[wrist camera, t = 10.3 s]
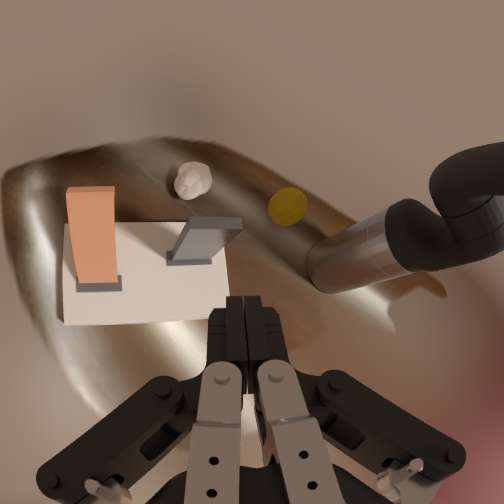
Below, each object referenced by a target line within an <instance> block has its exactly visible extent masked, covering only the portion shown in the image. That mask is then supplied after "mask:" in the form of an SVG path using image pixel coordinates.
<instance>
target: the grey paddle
mask: <svg viewBox="0 0 504 504" xmlns="http://www.w3.org/2000/svg"><path fill="white" fill-rule="evenodd" d="M242 230H243V223H242V217H210V216H189V218H188V220H187V222H186V224H185V225H184V227H183V229H182V231H181V233H180V235H179V237H178V239H177V241H176V243H175V245H174V247H173V249H172V251H171V260H172V262H173V261H207V260H210V259H211V258H213V257H214V256H215V255H216V254H217V253H218V252H219V251H220V250H221V249H222V248H223V247H224V246H226V245H227V244H228V243H229V242H230V241H231V240H232V239H233V238H234V237H235V236H236V235H238V234H239V233H240V232H241V231H242Z"/></svg>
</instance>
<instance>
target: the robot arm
mask: <svg viewBox="0 0 504 504" xmlns="http://www.w3.org/2000/svg"><path fill="white" fill-rule="evenodd" d="M429 191H430V194H431V197H432V199H433V202H434V204H435V206H436V208H437V210H438V211H439V213H440V214H441V216H442V217H441V216H439V215H437V214H435V213H434V212H432V211H431V210H430V209H428V208H427V207H426V206H424V205H423V204H422V203H420V202H418V201H417V200H414V199H404V200H401V201H399V202H397V203H395V204H394V205H391V206H390V207H388V208H386V209H384V210H382V211H380V212H378V213H376V214H374V215H373V216H371V217H369V218H367V219H365V220H363V221H361V222H359V223H357V224H355V225H353V226H351V227H349V228H347V229H345V230H343V231H341V232H339V233H337V234H335V235H333V236H331V237H329V238H327V239H325V240H323V241H321V242H319V243H318V244H316V245H314V246H313V247H312V248H311V250H310V252H309V254H308V258H307V270H308V274H309V277H310V279H311V281H312V282H313V284H314V285H315V286H316V287H317V288H318V289H319V290H320V291H322V292H324V293H327V294H335V293H340V292H344V291H348V290H352V289H356V288H360V287H364V286H367V285H371V284H375V283H379V282H382V281H386V280H390V279H393V278H397V277H400V276H403V275H407V274H410V273H414V272H417V271H421V270H423V271H430V272H432V271H438V270H443V269H447V268H451V267H455V266H459V265H463V264H468V263H472V262H476V261H479V260H483V259H486V258H488V257H491V256H493V255H495V254H498V253H499V252H501V251H503V250H504V142H499V143H493V144H487V145H483V146H478V147H474V148H470V149H467V150H464V151H461V152H459V153H457V154H454V155H452V156H451V157H449V158H447V159H446V160H444V161H443V162H442V163H440V164H439V165H438V166H437V167H436V169H435V170H434V171H433V173H432V175H431V177H430V180H429ZM247 387H248V394H254V401H255V405H254V412H255V417H256V422H257V427H258V432H259V437H260V442H261V447H262V459H263V465H264V467H262V468H250V467H245V466H240V441H241V411H242V408H243V394H246V392H247ZM191 430H192V435H191V443H190V451H189V460H188V469H187V471H185V472H182V473H180V474H178V475H176V476H174V477H173V478H172V479H170V480H169V481H168V482H167V483H166V484H165V485H164V486H163V487H162V488H161V489H160V490H159V491H158V492H157V493H156V494H155V495H154V496H153V497H152V498H151V499H150V500H149V501H148V502H146V503H145V504H430V502H431V501H432V498H433V497H434V496H435V494H436V492H437V490H438V489H439V487H440V485H441V483H442V481H443V480H444V479H446V478H447V477H449V476H451V475H453V474H454V473H456V472H458V471H459V470H460V469H461V468H462V467H463V466H464V464H465V461H466V452H465V449H464V447H463V446H462V445H461V444H460V443H459V442H457V441H455V440H454V439H452V438H450V437H448V436H447V435H445V434H443V433H441V432H440V431H438V430H436V429H434V428H433V427H431V426H429V425H427V424H426V423H424V422H423V421H421V420H419V419H418V418H416V417H414V416H413V415H411V414H409V413H408V412H406V411H405V410H403V409H401V408H400V407H398V406H396V405H395V404H393V403H392V402H390V401H388V400H387V399H385V398H383V397H382V396H381V395H379V394H377V393H376V392H374V391H373V390H371V389H370V388H368V387H367V386H365V385H363V384H362V383H360V382H359V381H357V380H356V379H354V378H353V377H351V376H350V375H348V374H347V373H345V372H343V371H340V370H330V371H326V372H325V373H323V374H322V375H321V376H314V375H308V374H304V373H301V372H299V371H297V370H296V369H295V368H294V367H293V366H292V365H291V364H290V362H289V359H288V354H287V349H286V345H285V340H284V336H283V332H282V326H281V322H280V317H279V314H278V313H277V312H276V311H275V309H274V308H273V307H262V303H261V297H260V296H243V298H242V296H226V308H214V309H213V310H212V312H211V313H210V315H209V319H208V339H207V362H206V366H205V368H204V370H203V371H202V373H200V374H199V375H198V376H196V377H194V378H191V379H188V380H184V381H180V382H179V381H177V380H176V379H175V378H173V377H170V376H158V377H155V378H153V379H151V380H150V381H149V382H147V383H146V384H145V385H144V386H143V387H141V388H140V389H139V390H138V391H137V392H135V393H134V394H133V395H132V396H130V397H129V398H128V399H127V400H126V401H124V402H123V403H122V404H121V405H119V406H118V407H117V408H116V409H114V410H113V411H112V412H111V413H109V414H108V415H107V416H106V417H104V418H103V419H102V420H101V421H99V422H98V423H97V424H96V425H94V426H93V427H92V428H91V429H89V430H88V431H87V432H85V433H84V434H83V435H82V436H80V437H79V438H78V439H76V440H75V441H74V442H73V443H71V444H70V445H69V446H67V447H66V448H65V449H63V450H62V451H61V452H60V453H58V454H57V455H55V456H54V457H53V458H52V459H50V460H49V461H48V462H46V463H45V464H43V465H42V466H41V467H40V468H39V469H38V471H37V474H36V482H37V485H38V487H39V489H40V490H41V492H42V493H43V494H44V495H45V496H47V497H48V498H50V499H53V500H55V501H57V502H59V503H60V504H132V497H131V494H130V492H129V490H128V489H129V488H130V487H131V486H132V485H133V484H135V483H136V482H137V481H138V480H139V479H140V478H142V477H143V476H144V475H145V474H146V473H147V472H148V471H150V470H151V469H152V468H153V467H154V466H155V465H156V464H157V463H158V462H159V461H160V460H162V459H163V458H164V457H165V456H166V455H167V454H168V453H169V452H170V451H171V450H172V449H173V448H174V447H175V446H176V445H177V444H178V443H180V442H181V441H182V440H183V439H184V438H185V437H186V436H187V435H188V434H189V433H190V431H191ZM324 439H325V440H326V441H328V442H329V443H330V444H332V445H333V446H335V447H336V448H337V449H339V450H340V451H342V452H343V453H345V454H346V455H347V456H349V457H350V458H352V459H353V460H355V461H357V462H358V463H359V464H361V465H362V466H364V467H365V468H367V469H369V470H370V471H372V472H373V473H375V474H376V475H378V477H377V486H378V488H379V490H380V491H381V492H382V493H384V494H385V495H386V497H387V498H385V497H384V496H382V495H381V494H379V493H378V492H376V491H375V490H373V489H372V488H370V487H369V486H367V485H366V484H364V483H363V482H361V481H360V480H358V479H357V478H356V477H354V476H353V475H352V474H350V473H349V472H347V471H346V470H344V469H343V468H341V467H339V466H337V465H335V464H332V463H331V460H330V457H329V454H328V451H327V448H326V445H325V442H324Z"/></svg>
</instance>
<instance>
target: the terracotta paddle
mask: <svg viewBox="0 0 504 504" xmlns="http://www.w3.org/2000/svg"><path fill="white" fill-rule="evenodd" d="M114 192H115V186H98V187H68V189H67V191H66V201H67V212H68V221H69V228H70V236H71V242H72V249H73V255H74V260H75V266H76V271H77V276H78V281H79V283H111V282H118V274H117V261H116V245H115V214H114Z"/></svg>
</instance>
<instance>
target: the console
mask: <svg viewBox="0 0 504 504" xmlns="http://www.w3.org/2000/svg"><path fill="white" fill-rule="evenodd" d="M185 224H186V222H115V245H116V261H117V274H118V282H111V283H79V281H78V276H77V271H76V266H75V260H74V255H73V249H72V242H71V236H70V228H69V224H65V229H64V244H63V311H64V325H67V326H80V325H118V324H140V323H157V322H172V321H185V320H197V319H208V318H209V315H210V313H211V312H212V310H213V309H214V308H226V296H230V295H229V287H228V278H227V269H226V261H225V252H224V247H223V248H222V249H221V250H220V251H219V252H218V253H217V254H216V255H215V256H214V257H213V258H211V259H210V260H207V261H173V262H172V260H171V251H172V249H173V247H174V245H175V243H176V241H177V239H178V237H179V235H180V233H181V231H182V229H183V227H184V225H185Z"/></svg>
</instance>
